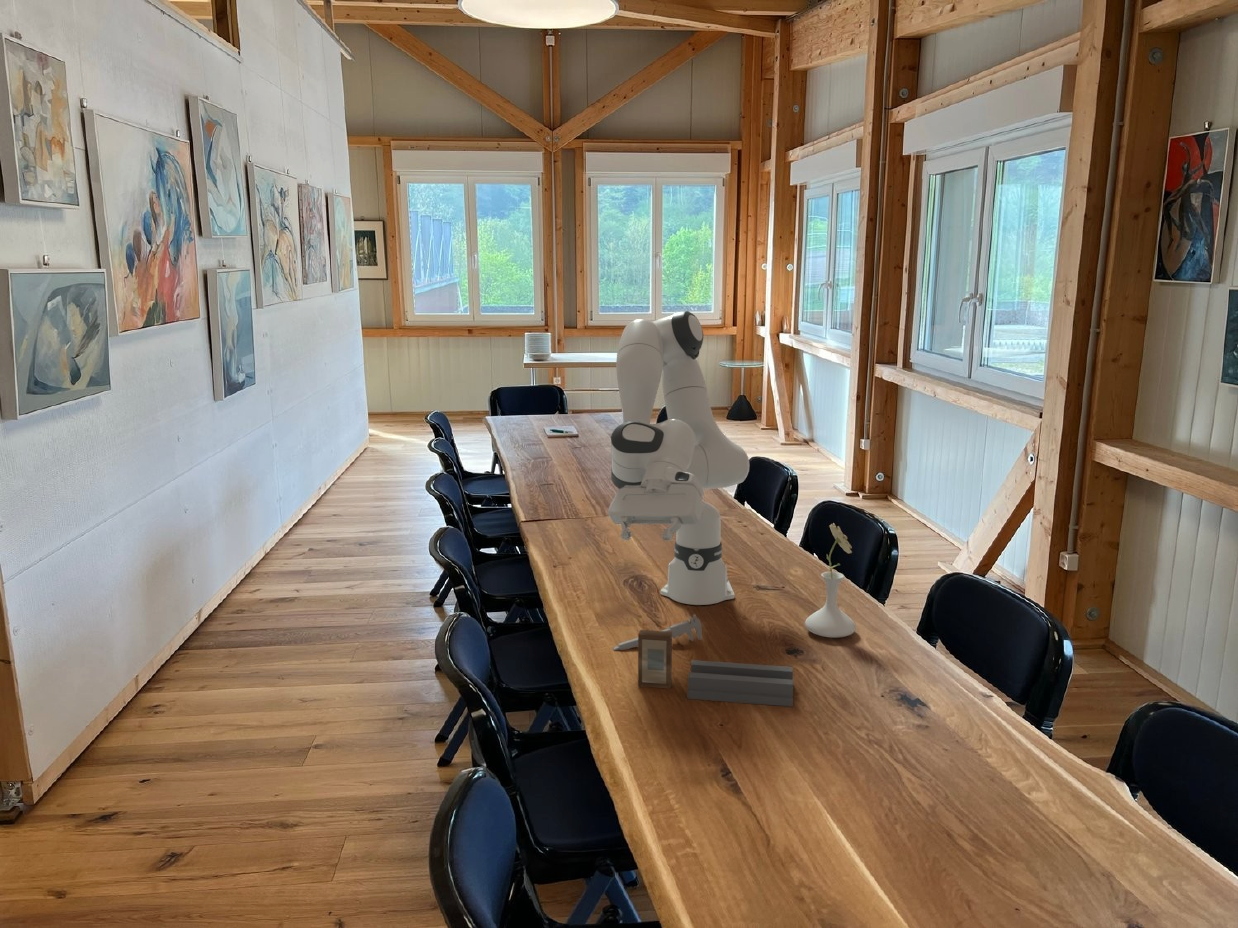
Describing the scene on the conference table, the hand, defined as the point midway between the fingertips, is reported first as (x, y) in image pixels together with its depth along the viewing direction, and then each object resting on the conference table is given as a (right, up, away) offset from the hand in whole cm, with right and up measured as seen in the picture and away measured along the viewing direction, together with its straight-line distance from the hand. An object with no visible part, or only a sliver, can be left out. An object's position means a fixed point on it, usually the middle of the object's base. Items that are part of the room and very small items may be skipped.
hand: (645, 538), depth 184 cm
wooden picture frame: (+2, -29, -3) cm, 29 cm away
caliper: (+3, -25, +16) cm, 30 cm away
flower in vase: (+43, -23, +24) cm, 54 cm away
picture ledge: (+19, -30, -6) cm, 35 cm away
